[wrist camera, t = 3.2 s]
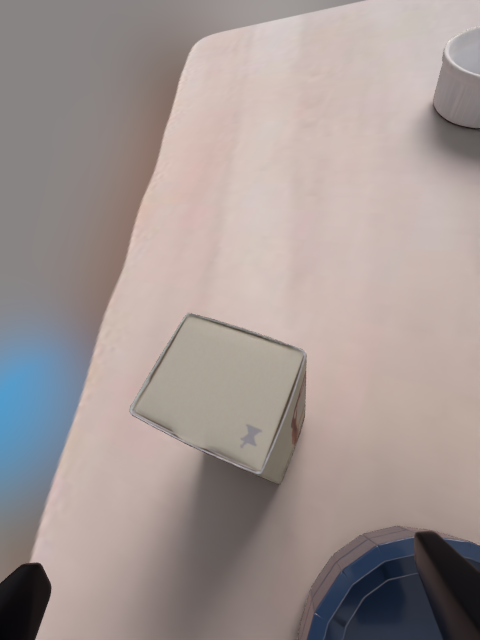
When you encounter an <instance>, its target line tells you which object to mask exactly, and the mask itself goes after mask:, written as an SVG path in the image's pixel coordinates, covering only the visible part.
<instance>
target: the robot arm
mask: <svg viewBox="0 0 480 640" xmlns="http://www.w3.org/2000/svg"><path fill="white" fill-rule="evenodd" d="M414 560H415V565H416V568H417V571H418V574H419V577H420V579H421V582H422V585H423V587H424V590H425V593H426V596H427V598H428V601H429V604H430V606H431V609H432V612H433V615H434V617H435V620H436V623H437V625H438V628H439V631H440V633H441V636H442V639H443V640H480V572H479V571H478V570H477V569H476V568H475V567H474V566H473V565H472V564H471V563H469V562H468V561H467V560H466V559H465V558H464V557H463V556H462V555H461V554H460V553H458V552H457V551H456V550H455V549H454V548H453V547H452V546H451V545H450V544H449V543H447V542H446V541H445V540H444V539H443V538H442V537H441V536H440V535H439V534H437V533H436V532H434V531H418V532H416V533H415V534H414ZM50 595H51V583H50V581H49V579H48V577H47V575H46V573H45V571H44V569H43V566H42V565H41V564H40V563H26V564H23V565H21V566H20V567H18V568H17V569H16V570H15V571H14V572H13V573H11V574H10V575H9V576H8V577H7V578H6V579H5V580H4V581H2V582H1V583H0V640H35V638H36V636H37V633H38V630H39V627H40V624H41V621H42V618H43V616H44V613H45V610H46V607H47V604H48V601H49V598H50Z"/></svg>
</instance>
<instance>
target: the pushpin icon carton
mask: <svg viewBox="0 0 480 640" xmlns="http://www.w3.org/2000/svg"><path fill="white" fill-rule="evenodd" d="M306 357H307V355H306V352H305V351H304V350H302V349H300V348H297V347H295V346H292V345H289V344H286V343H283V342H281V341H279V340H276V339H273V338H270V337H267V336H265V335H261V334H259V333H256V332H253V331H250V330H247V329H244V328H240V327H237V326H234V325H231V324H228V323H225V322H221V321H218V320H215V319H211V318H207V317H203V316H200V315H196V314H192V313H187V314H186V315H185V317H184V318H183V320H182V322H181V323H180V325H179V327H178V328H177V330H176V331H175V333H174V334H173V336H172V338H171V339H170V341H169V342H168V344H167V346H166V347H165V349H164V350H163V352H162V354H161V355H160V357H159V359H158V360H157V362H156V364H155V365H154V367H153V369H152V370H151V372H150V373H149V375H148V377H147V379H146V380H145V382H144V384H143V386H142V387H141V389H140V391H139V393H138V394H137V396H136V398H135V400H134V401H133V403H132V404H131V406H130V413H131V414H132V416H134V417H136V418H138V419H140V420H142V421H144V422H145V423H147V424H149V425H151V426H153V427H154V428H156V429H158V430H160V431H162V432H164V433H166V434H168V435H170V436H172V437H174V438H176V439H178V440H180V441H181V442H183V443H185V444H187V445H189V446H191V447H194V448H196V449H198V450H200V451H202V452H204V453H207V454H209V455H211V456H214V457H216V458H218V459H220V460H223V461H225V462H227V463H230V464H232V465H234V466H236V467H239V468H241V469H243V470H245V471H248V472H250V473H252V474H255V475H257V476H259V477H262V478H264V479H267V480H269V481H271V482H274V483H276V484H281V482H282V479H283V477H284V474H285V472H286V469H287V467H288V464H289V462H290V459H291V456H292V454H293V451H294V448H295V445H296V443H297V440H298V437H299V434H300V431H301V427H302V424H303V421H304V418H305V397H306Z"/></svg>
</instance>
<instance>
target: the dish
mask: <svg viewBox="0 0 480 640" xmlns="http://www.w3.org/2000/svg"><path fill="white" fill-rule="evenodd" d="M418 531H433V530H426V529H418V528H411V527H403V526H394V527H390V528H385V529H381V530H377V531H372V532H368V533H364V534H363V535H360V536H358V537H357V538H356V539H354V540H353V541H351V542H350V543H348V544H347V545H346V546H344V547H343V548H341V549H340V550H339V551H337V552H336V553H334V555H333V556H332V557H331V558H330V559H329V561H328V562H327V564H326V565H325V567H324V568H323V570H322V571H321V573H320V574H319V576H318V577H317V579H316V580H315V582H314V583H313V585H312V587H311V589H310V591H309V595H308V598H307V602H306V605H305V609H304V612H303V616H302V619H301V623H300V626H299V630H298V640H443V639H442V636H441V633H440V631H439V628H438V625H437V623H436V620H435V617H434V615H433V612H432V609H431V606H430V604H429V601H428V598H427V596H426V593H425V590H424V587H423V585H422V582H421V579H420V577H419V574H418V571H417V568H416V565H415V560H414V534H415V533H416V532H418ZM434 532H436V533H437V534H439V535H440V536H441V537H442V538H443V539H444V540H445V541H446V542H447V543H449V544H450V545H451V546H452V547H453V548H454V549H455V550H456V551H457V552H458V553H460V554H461V555H462V556H463V557H464V558H465V559H466V560H467V561H468V562H469V563H471V564H472V565H473V566H474V567H475V568H476V569H477V570H478V571H479V572H480V546H479V545H477V544H475V543H473V542H470V541H467V540H463V539H460V538H457V537H454V536H450V535H447V534H444V533H441V532H438V531H434Z"/></svg>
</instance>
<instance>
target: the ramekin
mask: <svg viewBox="0 0 480 640" xmlns="http://www.w3.org/2000/svg"><path fill="white" fill-rule="evenodd" d="M442 62H443V63H442V67H441V71H440V75H439V78H438V82H437V86H436V90H435V94H434V106H435V108H436V110H437V112H438V113H439V114H440V115H441V116H442V117H444V118H445V119H446V120H448V121H450V122H452V123H455V124H457V125H461V126H465V127H471V128H480V26H476V27H473V28H470V29H468V30H465V31H463V32H461V33H459V34H457V35H456V36H454V37H453V38H452V39H450V41H449V42H448V43H447V44H446V46H445V48H444V52H443V57H442Z"/></svg>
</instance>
